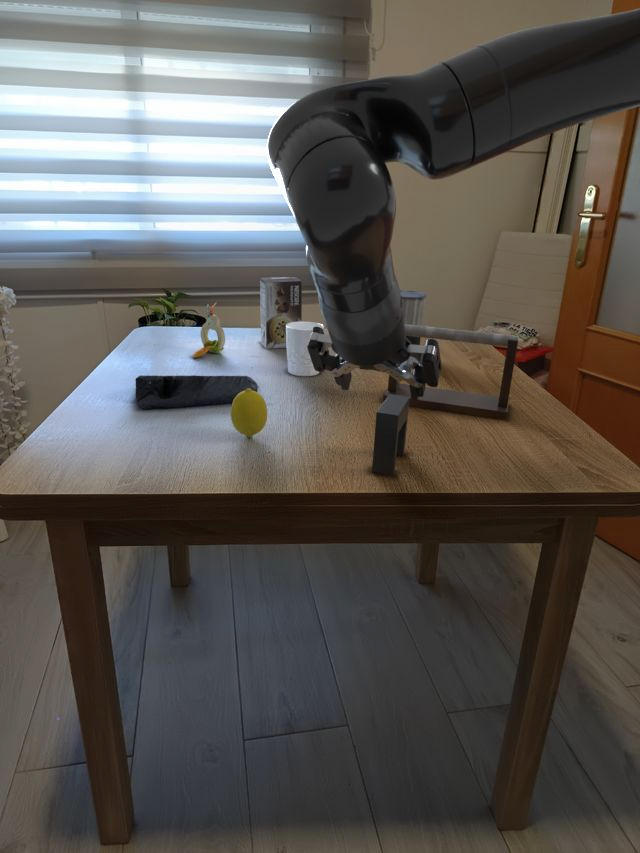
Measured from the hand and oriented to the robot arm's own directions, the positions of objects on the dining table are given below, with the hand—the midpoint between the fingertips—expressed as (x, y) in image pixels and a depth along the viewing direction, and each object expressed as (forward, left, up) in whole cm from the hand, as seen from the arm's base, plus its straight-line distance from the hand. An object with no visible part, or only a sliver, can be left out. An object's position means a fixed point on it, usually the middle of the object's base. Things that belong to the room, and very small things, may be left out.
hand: (381, 388), depth 69 cm
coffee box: (-4, -75, -14) cm, 77 cm away
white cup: (-4, -52, -14) cm, 54 cm away
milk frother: (-26, -60, -14) cm, 67 cm away
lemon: (+13, -20, -14) cm, 28 cm away
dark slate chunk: (+19, -41, -14) cm, 48 cm away
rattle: (+15, -70, -14) cm, 73 cm away
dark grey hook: (-5, -7, -14) cm, 17 cm away
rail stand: (-25, -28, -14) cm, 41 cm away
